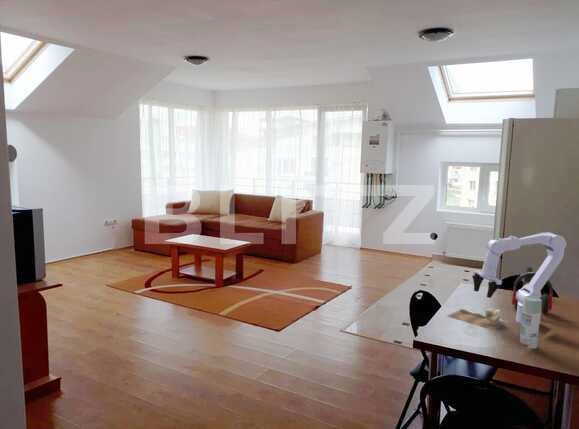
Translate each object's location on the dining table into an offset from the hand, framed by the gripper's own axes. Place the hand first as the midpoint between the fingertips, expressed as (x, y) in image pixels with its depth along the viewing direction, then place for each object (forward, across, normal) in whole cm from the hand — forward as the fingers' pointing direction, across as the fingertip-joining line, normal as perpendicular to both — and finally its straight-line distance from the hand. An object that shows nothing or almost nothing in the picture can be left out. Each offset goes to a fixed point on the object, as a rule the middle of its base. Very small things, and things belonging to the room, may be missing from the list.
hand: (482, 294), depth 206 cm
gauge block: (+11, +6, +4) cm, 13 cm away
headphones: (+8, -2, +39) cm, 40 cm away
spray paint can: (+12, +27, +1) cm, 30 cm away
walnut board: (+14, -1, +2) cm, 14 cm away
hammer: (+7, -17, +53) cm, 56 cm away
